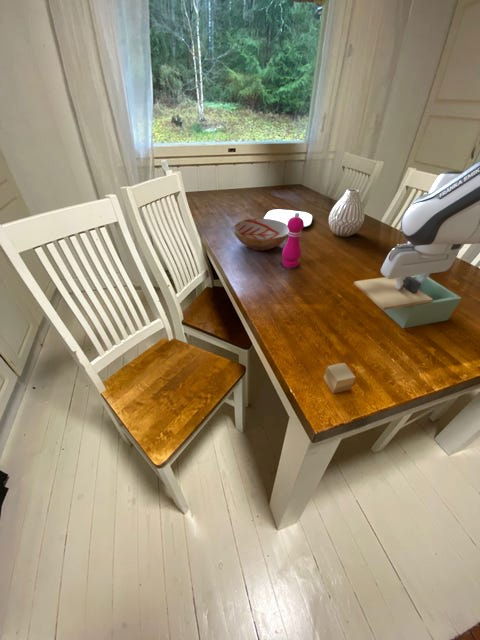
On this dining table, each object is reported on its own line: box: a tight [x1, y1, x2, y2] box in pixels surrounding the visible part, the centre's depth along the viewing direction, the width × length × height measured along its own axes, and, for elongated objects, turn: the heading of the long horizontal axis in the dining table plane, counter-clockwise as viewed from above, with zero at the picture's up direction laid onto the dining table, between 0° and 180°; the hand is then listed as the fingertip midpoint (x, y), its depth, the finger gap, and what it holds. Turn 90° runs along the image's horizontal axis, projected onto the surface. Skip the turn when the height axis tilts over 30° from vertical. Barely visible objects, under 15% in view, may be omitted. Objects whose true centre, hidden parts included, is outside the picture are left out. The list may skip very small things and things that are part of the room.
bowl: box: [232, 217, 289, 252], centre depth 120 cm, size 25×25×8 cm
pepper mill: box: [281, 213, 305, 268], centre depth 103 cm, size 7×7×20 cm
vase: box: [328, 188, 365, 238], centre depth 128 cm, size 16×16×20 cm
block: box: [323, 362, 356, 395], centre depth 61 cm, size 4×4×4 cm
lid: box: [353, 276, 433, 311], centre depth 77 cm, size 14×16×4 cm
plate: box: [263, 209, 313, 228], centre depth 148 cm, size 25×25×2 cm
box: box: [372, 275, 462, 329], centre depth 83 cm, size 14×16×8 cm
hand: (407, 286), depth 78 cm, fingers open, 4 cm apart
